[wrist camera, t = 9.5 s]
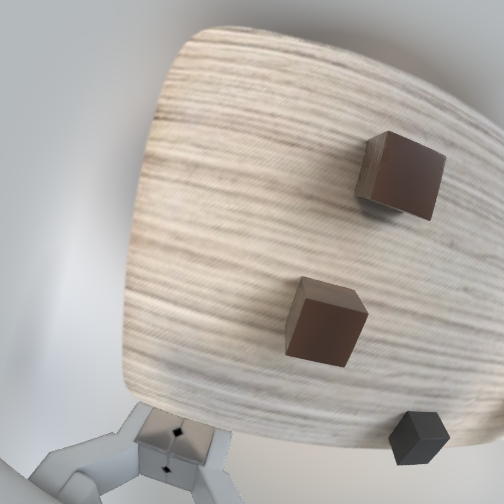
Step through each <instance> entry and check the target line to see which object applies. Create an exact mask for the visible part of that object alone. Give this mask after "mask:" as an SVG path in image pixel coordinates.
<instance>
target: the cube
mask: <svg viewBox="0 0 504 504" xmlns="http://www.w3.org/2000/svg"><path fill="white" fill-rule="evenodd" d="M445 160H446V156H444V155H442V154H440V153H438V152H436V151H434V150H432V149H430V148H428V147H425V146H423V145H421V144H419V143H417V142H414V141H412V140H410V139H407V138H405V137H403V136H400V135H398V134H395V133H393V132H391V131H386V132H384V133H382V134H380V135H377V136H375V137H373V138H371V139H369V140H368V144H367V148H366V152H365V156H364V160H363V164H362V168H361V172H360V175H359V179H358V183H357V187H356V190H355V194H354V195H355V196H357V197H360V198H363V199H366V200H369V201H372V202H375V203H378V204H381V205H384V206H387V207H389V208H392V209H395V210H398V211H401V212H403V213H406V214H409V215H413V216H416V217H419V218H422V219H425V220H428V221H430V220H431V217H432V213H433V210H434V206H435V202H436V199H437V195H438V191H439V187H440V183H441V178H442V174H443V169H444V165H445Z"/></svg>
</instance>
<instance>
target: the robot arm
mask: <svg viewBox="0 0 504 504" xmlns="http://www.w3.org/2000/svg"><path fill="white" fill-rule="evenodd" d="M215 428H216V429H215ZM231 437H232V431H228V430H225V429H221V428H217V427H214V426H210V425H207V424H203V423H200V422H196V421H193V420H190V419H187V418H182V417H179V416H177V415H174V414H171V413H169V412H166V411H163V410H161V409H158V408H156V407H153V406H150V405H148V404H145V403H143V402H141V401H140V402H138V403H137V404H136V405H135V407H134V408H133V410H132V411H131V413H130V414H129V416H128V417H127V419H126V420H125V422H124V423H123V425H122V427H121V428H120V429H119V431H118V432H117V434H115V433H113V432H112V433H109V434H106V435H103V436H100V437H97V438H94V439H91V440H88V441H85V442H82V443H79V444H76V445H73V446H69V447H66V448H63V449H59V450H56V451H52V452H49V454H48V455H47V456H46V457H45V459H44V460H43V461H42V462H41V463H40V465H39V466H38V467H37V468H36V469H35V471H34V472H33V473H32V474H31V476H30V477H29V478H28V479H26V478H24V477H23V476H22V475H20V474H19V473H18V472H17V471H16V470H14V469H13V468H12V467H11V466H9V465H8V464H7V463H6V462H4V461H3V460H2V459H1V458H0V504H102V501H101V499H100V496H101V495H103V494H105V493H107V492H109V491H111V490H113V489H115V488H117V487H119V486H121V485H122V484H124V483H126V482H128V481H130V480H132V479H134V478H135V477H137V476H139V474H141V475H144V476H146V477H149V478H152V479H155V480H158V481H161V482H164V483H166V484H170V485H172V486H175V487H178V488H181V489H184V490H187V491H190V492H191V494H192V497H193V499H194V502H195V504H245V503H244V501H243V499H242V498H241V496H240V494H239V492H238V490H237V488H236V486H235V485H234V483H233V481H232V479H231V477H230V475H229V473H227V472H224V467H225V462H226V459H227V454H228V450H229V446H230V442H231Z"/></svg>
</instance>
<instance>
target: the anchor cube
mask: <svg viewBox="0 0 504 504" xmlns="http://www.w3.org/2000/svg"><path fill="white" fill-rule="evenodd" d="M449 439H450V436H449V434H448V433H447V431H446V429H445V427H444V425H443V423H442V421H441V419H440V417H439V416H438V414H437V412H412V411H408V412H407V413H406V415H405V416H404V417H403V419H402V420H401V422H400V423H399V424H398V426H397V427H396V428H395V430H394V431H393V433H392V434H391V435H390V436H389V441H390V444H391V447H392V450H393V454H394V457H395V460H396V463H397V465H416V464H428V463H429V462H430V460H432V458H433V457H434V456H435V455H436V454H437V453H438V452H439V451H440V449H441V448H442V447H443V446H444V445H445V444H446V442H447V441H448V440H449Z"/></svg>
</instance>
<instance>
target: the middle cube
mask: <svg viewBox="0 0 504 504" xmlns="http://www.w3.org/2000/svg"><path fill="white" fill-rule="evenodd" d="M368 314H369V313H368V312H367V310H366V308H365V307H364V305H363V303H362V302H361V300H360V298H359V297H358V295H357V293H356V292H355V290H352V289H348V288H344V287H341V286H337V285H333V284H329V283H326V282H322V281H318V280H314V279H311V278H307V277H303V276H302V277H301V280H300V283H299V286H298V289H297V292H296V295H295V298H294V301H293V305H292V308H291V310H290V313H289V316H288V319H287V322H286V325H285V355H287V356H291V357H296V358H300V359H305V360H309V361H314V362H319V363H324V364H329V365H334V366H339V367H345V365H346V363H347V361H348V359H349V357H350V355H351V353H352V351H353V349H354V346H355V344H356V342H357V340H358V338H359V335H360V333H361V331H362V328H363V326H364V324H365V321H366V319H367V317H368Z"/></svg>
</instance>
